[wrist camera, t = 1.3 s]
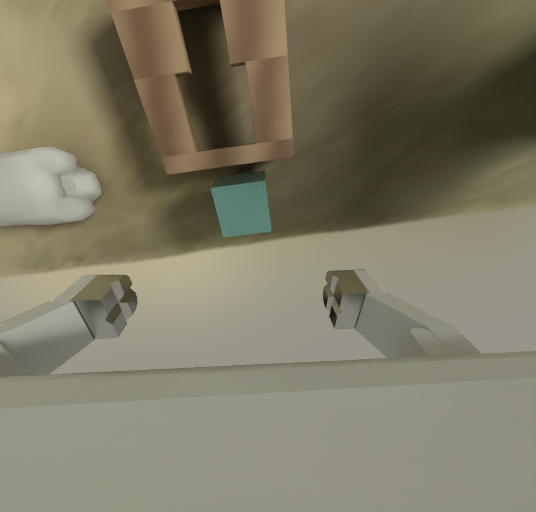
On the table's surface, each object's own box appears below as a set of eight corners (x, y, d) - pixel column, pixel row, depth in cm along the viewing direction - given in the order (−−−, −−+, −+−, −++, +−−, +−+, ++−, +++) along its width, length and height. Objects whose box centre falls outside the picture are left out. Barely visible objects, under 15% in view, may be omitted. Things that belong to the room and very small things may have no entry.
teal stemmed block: (264, 163, 31) (265, 180, 21) (269, 200, 34) (271, 231, 24) (227, 168, 31) (210, 188, 21) (235, 205, 34) (223, 237, 24)
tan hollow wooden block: (274, -24, 22) (278, -92, 15) (287, 150, 30) (294, 156, 23) (141, 1, 23) (88, -54, 16) (188, 164, 31) (166, 174, 24)
